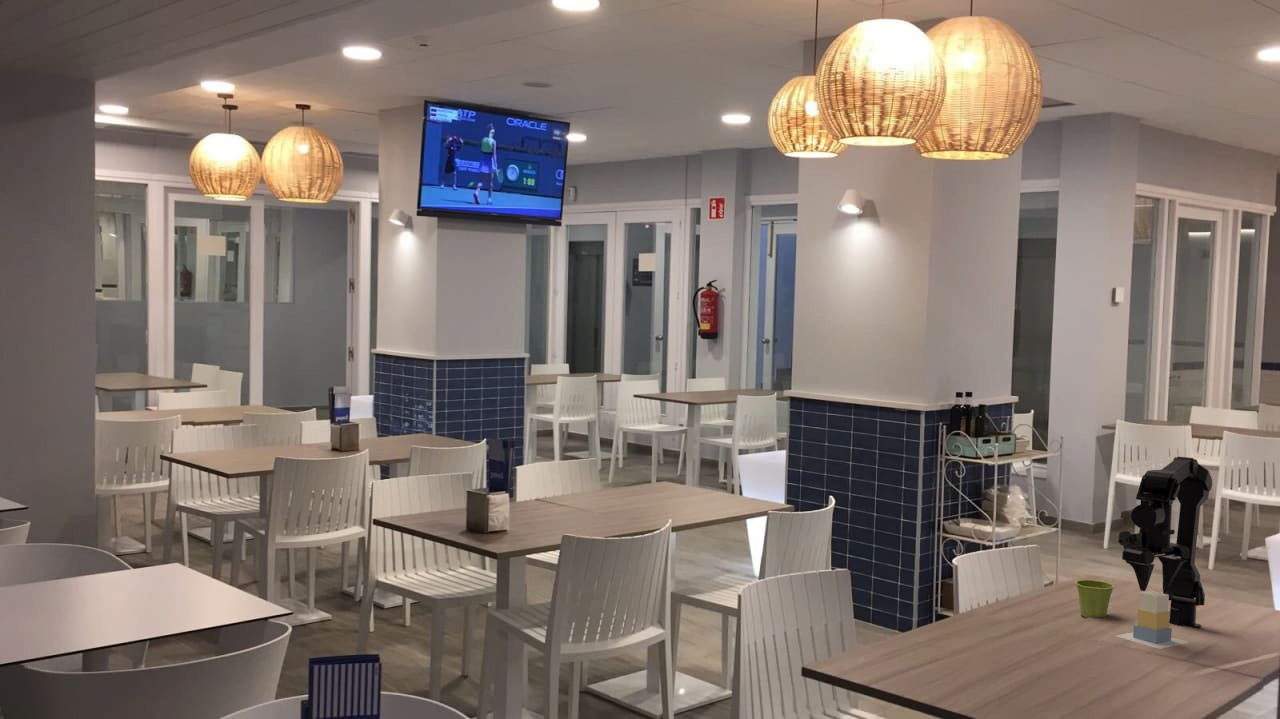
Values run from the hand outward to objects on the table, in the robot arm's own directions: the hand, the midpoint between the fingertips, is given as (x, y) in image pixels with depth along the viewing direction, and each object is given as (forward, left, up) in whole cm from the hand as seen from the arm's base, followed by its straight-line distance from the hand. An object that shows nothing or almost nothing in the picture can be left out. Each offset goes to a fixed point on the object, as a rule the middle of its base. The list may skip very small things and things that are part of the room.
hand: (1154, 588), depth 273 cm
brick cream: (0, 0, -5) cm, 5 cm away
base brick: (0, 0, -12) cm, 12 cm away
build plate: (0, 0, -13) cm, 13 cm away
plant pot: (-8, -22, -13) cm, 27 cm away
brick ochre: (0, 0, -9) cm, 9 cm away
